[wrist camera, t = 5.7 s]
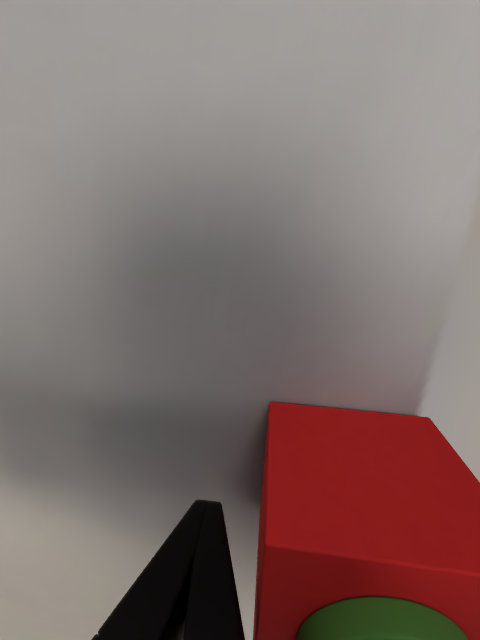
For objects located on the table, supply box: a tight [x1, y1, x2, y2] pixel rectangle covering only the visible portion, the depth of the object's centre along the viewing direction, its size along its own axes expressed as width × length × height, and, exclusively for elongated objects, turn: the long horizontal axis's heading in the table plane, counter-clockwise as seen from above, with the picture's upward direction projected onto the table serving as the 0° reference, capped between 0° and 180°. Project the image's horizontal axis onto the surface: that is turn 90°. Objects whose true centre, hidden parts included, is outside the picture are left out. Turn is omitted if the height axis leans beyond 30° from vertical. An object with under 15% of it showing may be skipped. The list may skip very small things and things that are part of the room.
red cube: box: [253, 402, 480, 640], centre depth 8 cm, size 5×5×5 cm
